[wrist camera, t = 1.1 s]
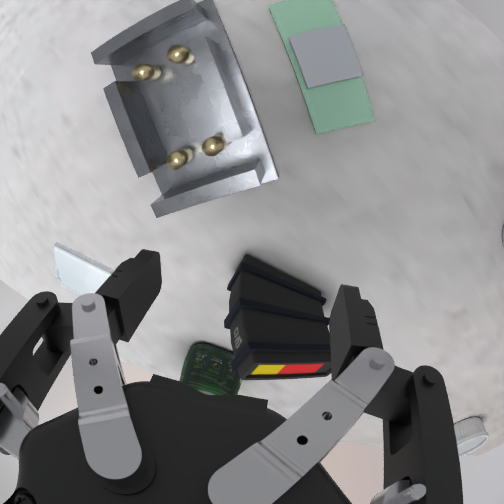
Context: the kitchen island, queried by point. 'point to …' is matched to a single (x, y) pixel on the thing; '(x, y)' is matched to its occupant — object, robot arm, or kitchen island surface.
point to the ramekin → (470, 435)
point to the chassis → (185, 107)
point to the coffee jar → (210, 371)
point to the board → (331, 96)
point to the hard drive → (78, 271)
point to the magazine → (276, 325)
